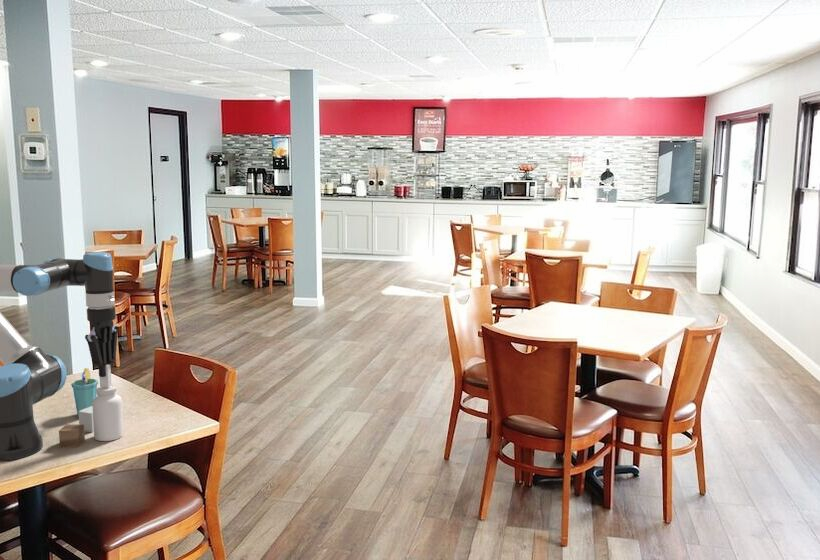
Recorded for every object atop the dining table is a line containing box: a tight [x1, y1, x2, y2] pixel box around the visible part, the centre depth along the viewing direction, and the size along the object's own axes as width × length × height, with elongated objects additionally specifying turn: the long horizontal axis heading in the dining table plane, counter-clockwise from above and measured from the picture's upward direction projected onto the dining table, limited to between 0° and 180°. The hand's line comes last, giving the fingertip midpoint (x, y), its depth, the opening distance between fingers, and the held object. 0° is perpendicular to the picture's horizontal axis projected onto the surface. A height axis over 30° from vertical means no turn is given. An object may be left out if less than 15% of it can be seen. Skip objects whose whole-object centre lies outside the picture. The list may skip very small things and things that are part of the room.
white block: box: [78, 406, 94, 434], centre depth 221 cm, size 5×5×6 cm
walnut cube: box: [58, 423, 86, 448], centre depth 209 cm, size 5×5×5 cm
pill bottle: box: [92, 385, 124, 442], centre depth 214 cm, size 8×8×15 cm
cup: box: [70, 367, 99, 417], centre depth 232 cm, size 14×8×15 cm, turn 24°
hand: (105, 386), depth 212 cm, fingers closed
